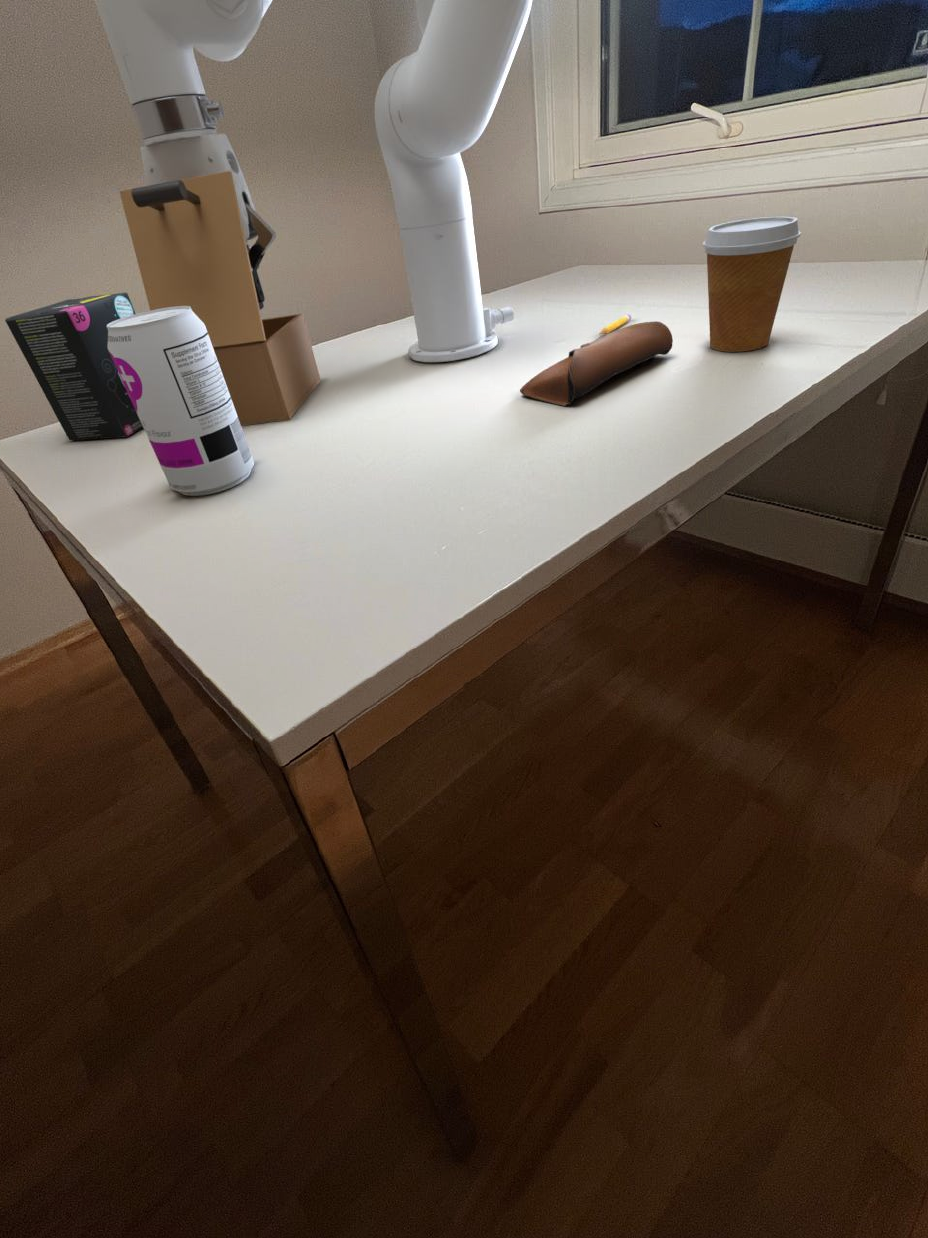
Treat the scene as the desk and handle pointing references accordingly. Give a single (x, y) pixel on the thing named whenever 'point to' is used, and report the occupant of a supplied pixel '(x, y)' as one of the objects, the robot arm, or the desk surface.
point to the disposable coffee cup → (747, 279)
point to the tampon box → (79, 364)
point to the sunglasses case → (599, 362)
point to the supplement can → (181, 399)
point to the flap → (196, 254)
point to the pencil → (615, 324)
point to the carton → (270, 371)
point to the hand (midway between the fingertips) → (236, 311)
